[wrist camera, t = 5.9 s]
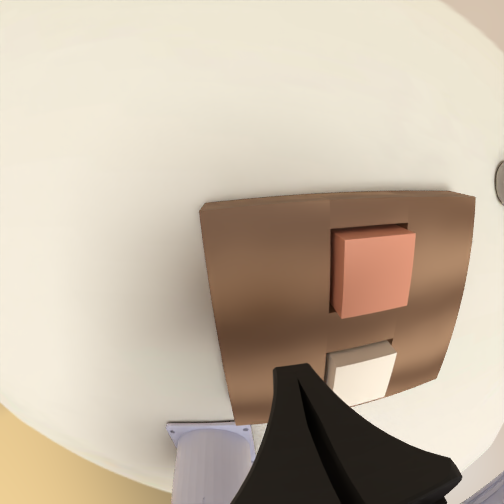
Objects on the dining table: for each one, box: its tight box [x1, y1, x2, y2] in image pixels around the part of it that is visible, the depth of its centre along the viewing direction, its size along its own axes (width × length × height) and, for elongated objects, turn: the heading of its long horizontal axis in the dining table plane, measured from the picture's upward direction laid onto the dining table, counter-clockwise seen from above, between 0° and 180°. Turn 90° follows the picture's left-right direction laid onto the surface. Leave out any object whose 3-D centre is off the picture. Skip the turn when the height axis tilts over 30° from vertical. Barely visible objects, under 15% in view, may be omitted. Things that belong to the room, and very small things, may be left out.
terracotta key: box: [329, 224, 416, 319], centre depth 15 cm, size 4×4×4 cm
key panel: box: [199, 191, 476, 426], centre depth 18 cm, size 16×18×3 cm
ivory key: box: [324, 340, 397, 407], centre depth 18 cm, size 4×4×4 cm
